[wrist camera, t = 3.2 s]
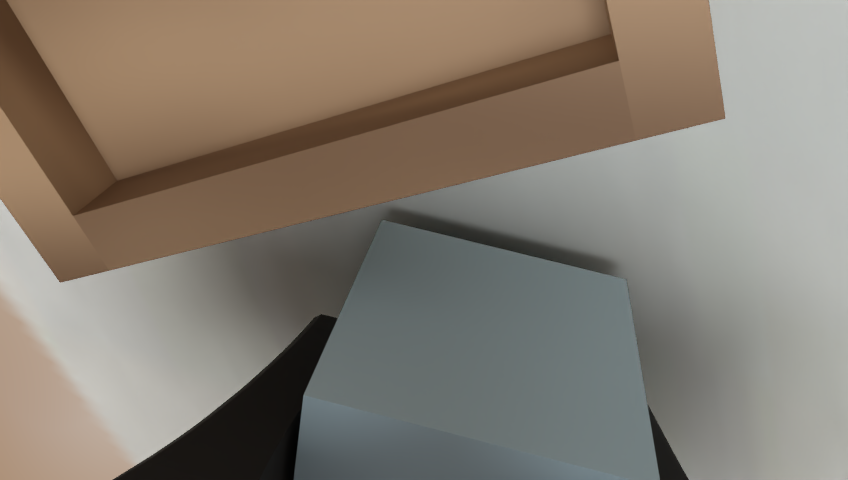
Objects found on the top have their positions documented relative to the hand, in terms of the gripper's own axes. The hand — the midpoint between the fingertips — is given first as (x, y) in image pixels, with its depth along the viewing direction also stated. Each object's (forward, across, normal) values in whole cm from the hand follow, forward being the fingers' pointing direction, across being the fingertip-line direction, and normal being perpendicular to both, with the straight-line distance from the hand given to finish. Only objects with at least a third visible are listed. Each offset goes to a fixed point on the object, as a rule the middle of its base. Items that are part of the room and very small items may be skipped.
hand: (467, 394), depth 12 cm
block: (+1, 0, 0) cm, 1 cm away
